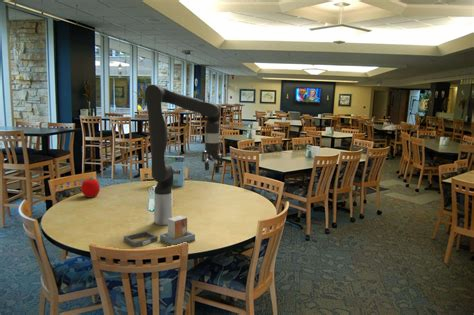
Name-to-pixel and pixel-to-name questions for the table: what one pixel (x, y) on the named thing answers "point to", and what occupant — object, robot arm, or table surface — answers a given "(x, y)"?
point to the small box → (177, 227)
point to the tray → (170, 242)
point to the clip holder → (141, 242)
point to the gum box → (177, 169)
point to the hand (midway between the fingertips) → (211, 171)
